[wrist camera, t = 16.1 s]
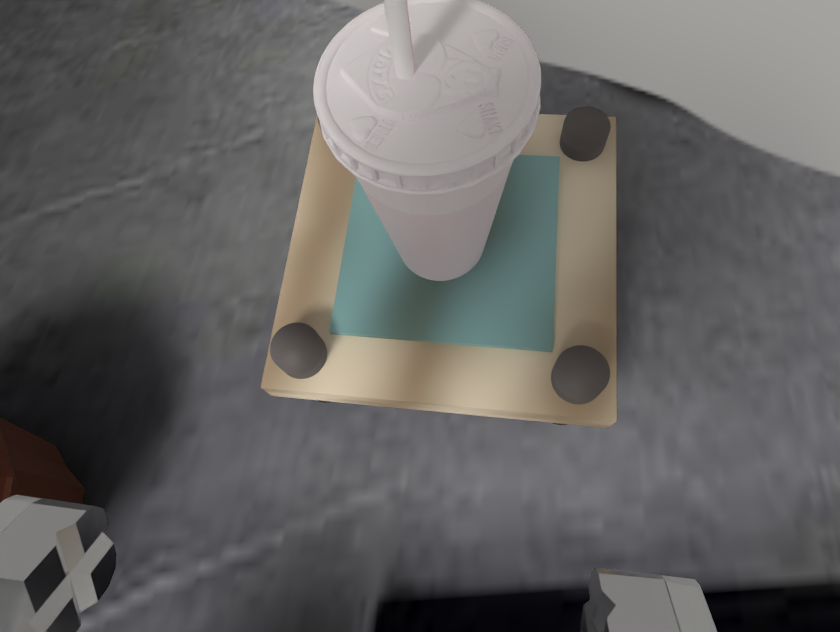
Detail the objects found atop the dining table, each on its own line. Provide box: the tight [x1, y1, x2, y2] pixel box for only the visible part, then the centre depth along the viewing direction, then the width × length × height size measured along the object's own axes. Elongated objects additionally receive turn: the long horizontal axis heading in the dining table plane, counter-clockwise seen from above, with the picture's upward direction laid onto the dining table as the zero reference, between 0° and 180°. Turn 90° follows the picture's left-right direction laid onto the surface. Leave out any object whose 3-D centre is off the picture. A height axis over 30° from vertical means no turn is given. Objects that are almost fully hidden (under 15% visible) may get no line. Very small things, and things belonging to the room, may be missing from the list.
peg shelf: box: [261, 107, 617, 428], centre depth 27 cm, size 14×14×6 cm
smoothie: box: [313, 0, 541, 281], centre depth 19 cm, size 6×6×14 cm
